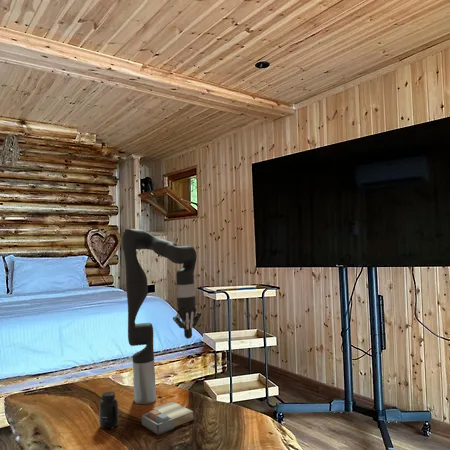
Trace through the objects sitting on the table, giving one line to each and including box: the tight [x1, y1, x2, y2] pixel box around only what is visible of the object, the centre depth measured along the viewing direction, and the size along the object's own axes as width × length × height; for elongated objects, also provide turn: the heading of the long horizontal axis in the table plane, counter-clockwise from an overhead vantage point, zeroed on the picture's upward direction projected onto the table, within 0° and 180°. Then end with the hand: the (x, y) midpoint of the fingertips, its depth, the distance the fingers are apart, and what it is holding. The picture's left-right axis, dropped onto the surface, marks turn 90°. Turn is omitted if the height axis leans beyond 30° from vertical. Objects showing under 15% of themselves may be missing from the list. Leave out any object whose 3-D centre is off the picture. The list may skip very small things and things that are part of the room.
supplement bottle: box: [98, 391, 119, 429], centre depth 157 cm, size 7×7×12 cm
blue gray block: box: [157, 413, 169, 424], centre depth 152 cm, size 4×4×2 cm
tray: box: [140, 410, 175, 435], centre depth 154 cm, size 12×7×4 cm, turn 40°
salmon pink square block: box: [148, 409, 161, 423], centre depth 156 cm, size 4×4×2 cm
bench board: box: [152, 401, 194, 428], centre depth 161 cm, size 14×9×3 cm, turn 40°
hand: (188, 338), depth 168 cm, fingers closed
